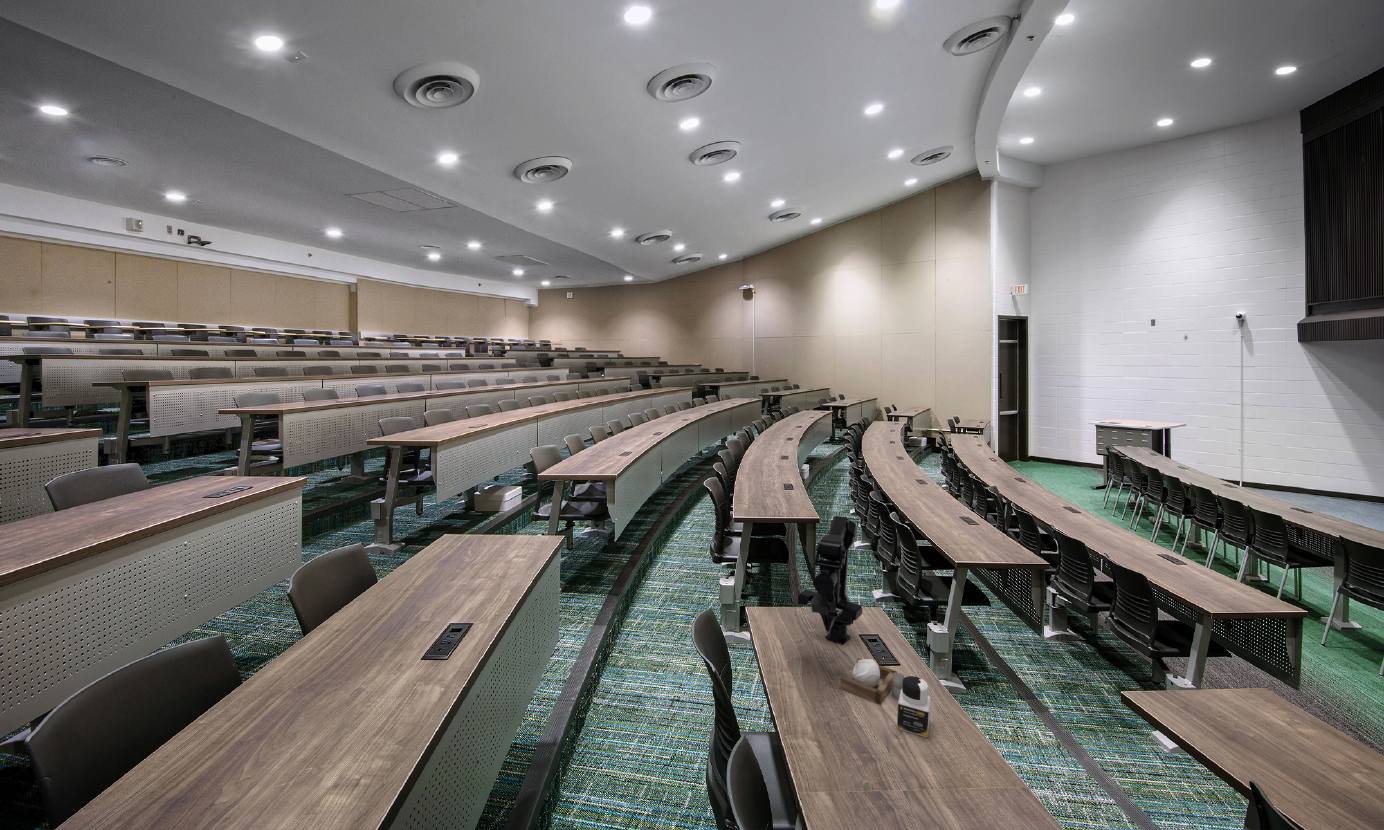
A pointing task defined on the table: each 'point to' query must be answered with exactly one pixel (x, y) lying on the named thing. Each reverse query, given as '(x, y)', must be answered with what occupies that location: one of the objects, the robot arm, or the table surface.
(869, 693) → the carrier cradle
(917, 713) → the medicine bottle
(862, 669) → the white carved ball
